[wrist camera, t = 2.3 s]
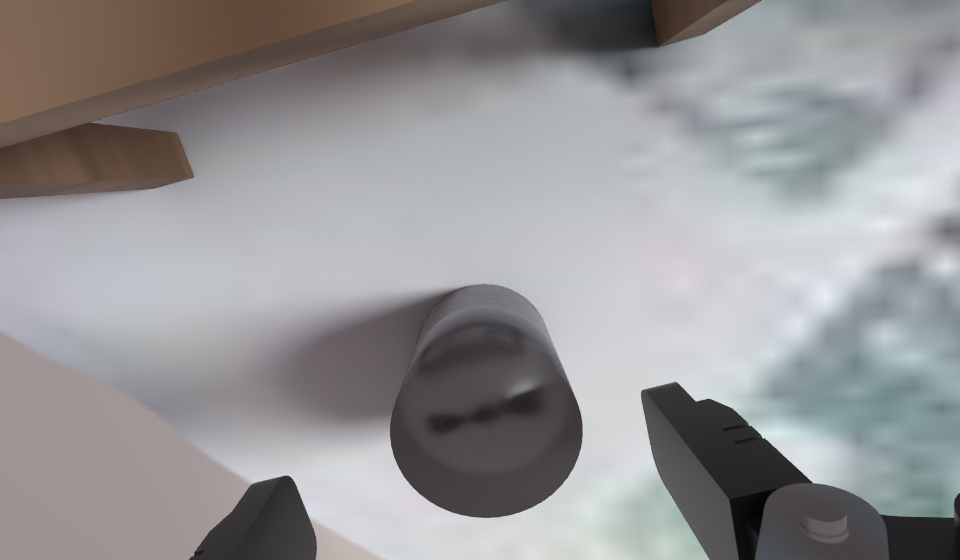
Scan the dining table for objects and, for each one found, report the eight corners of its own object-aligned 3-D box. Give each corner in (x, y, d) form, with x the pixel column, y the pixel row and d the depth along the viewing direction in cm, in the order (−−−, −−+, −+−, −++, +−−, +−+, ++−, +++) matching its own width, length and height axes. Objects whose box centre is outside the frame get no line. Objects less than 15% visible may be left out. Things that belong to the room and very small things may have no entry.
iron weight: (532, 269, 17) (559, 323, 11) (561, 389, 18) (600, 494, 12) (403, 302, 17) (364, 371, 11) (439, 418, 18) (420, 535, 13)
